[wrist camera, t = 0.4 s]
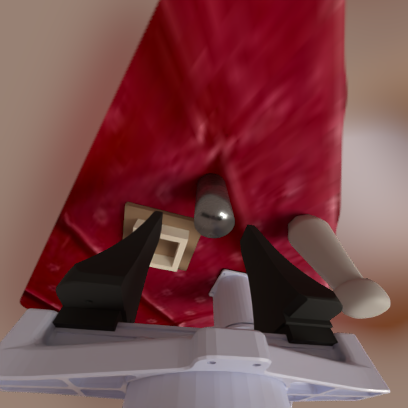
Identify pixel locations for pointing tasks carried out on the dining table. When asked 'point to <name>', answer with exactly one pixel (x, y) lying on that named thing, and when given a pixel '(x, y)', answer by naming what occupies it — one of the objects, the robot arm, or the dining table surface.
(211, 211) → the peg
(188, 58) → the dining table surface
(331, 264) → the salt shaker
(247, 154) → the dining table surface
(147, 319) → the dining table surface
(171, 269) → the socket board
